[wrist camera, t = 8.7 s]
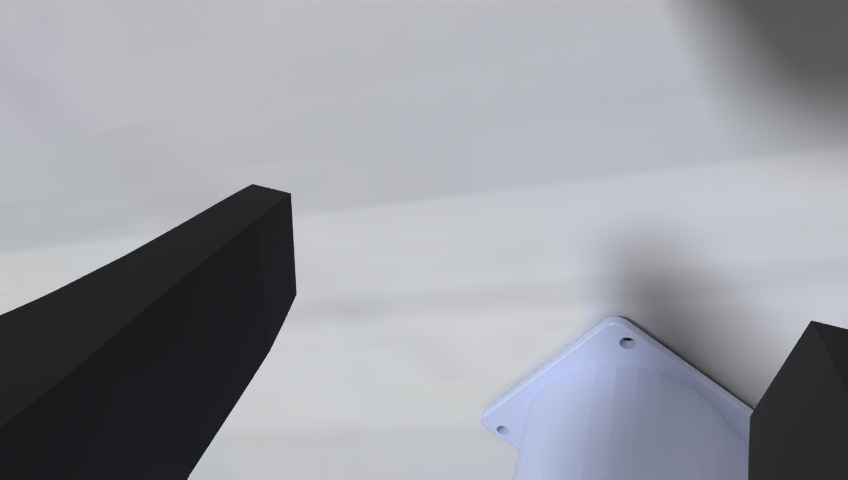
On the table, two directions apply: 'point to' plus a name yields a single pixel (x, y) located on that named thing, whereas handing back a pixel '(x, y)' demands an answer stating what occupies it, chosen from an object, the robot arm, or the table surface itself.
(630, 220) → the table surface
